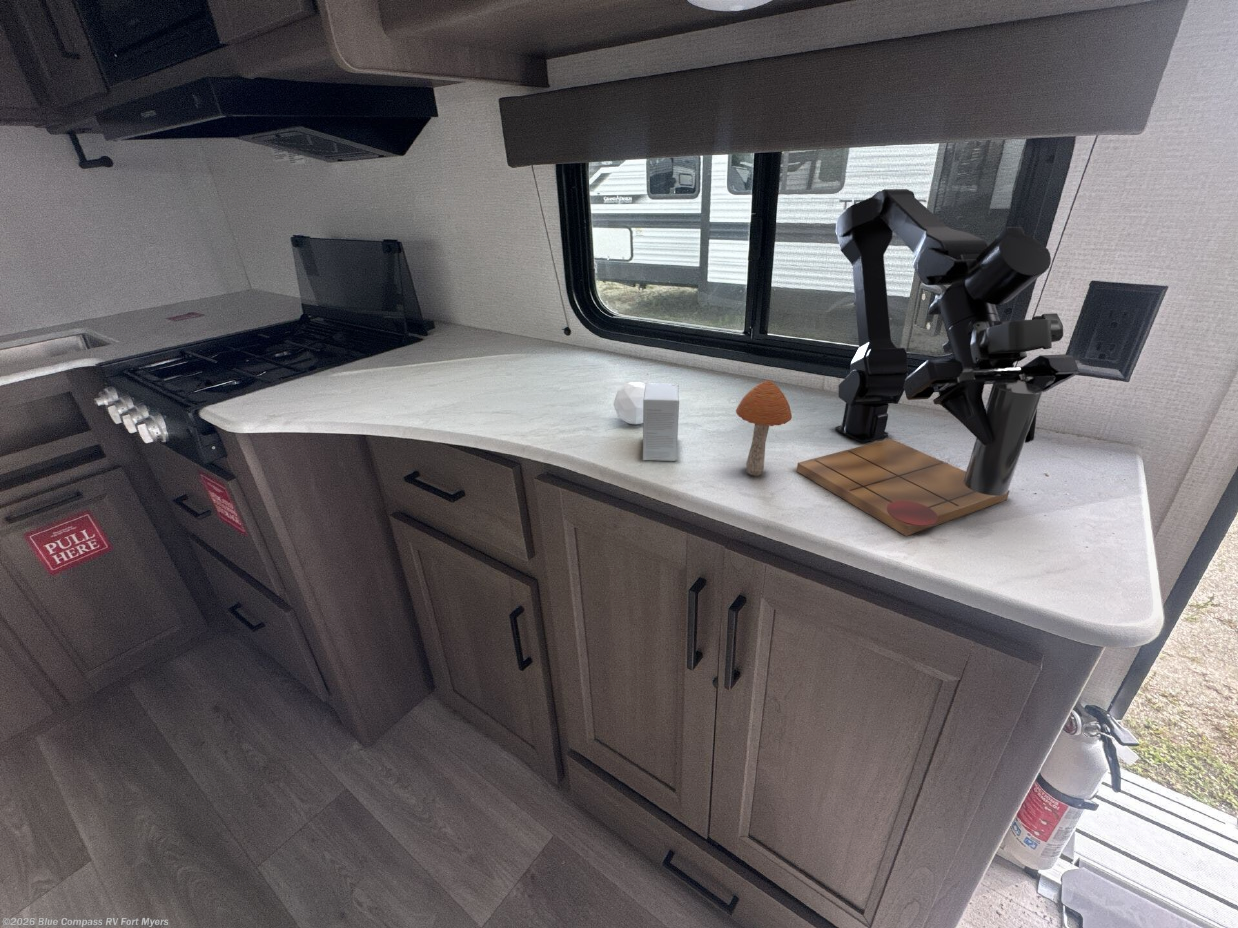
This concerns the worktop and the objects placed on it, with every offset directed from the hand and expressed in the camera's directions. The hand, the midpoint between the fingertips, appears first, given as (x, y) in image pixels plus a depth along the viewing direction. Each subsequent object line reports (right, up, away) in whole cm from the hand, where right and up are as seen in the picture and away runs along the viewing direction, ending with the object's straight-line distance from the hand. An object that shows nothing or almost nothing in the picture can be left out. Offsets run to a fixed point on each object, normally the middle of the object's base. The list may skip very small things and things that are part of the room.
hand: (1008, 442), depth 66 cm
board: (-5, -6, +17) cm, 18 cm away
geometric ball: (-43, +5, +39) cm, 58 cm away
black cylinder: (0, -5, +4) cm, 7 cm away
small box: (-39, 0, +28) cm, 48 cm away
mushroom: (-25, -4, +20) cm, 32 cm away
